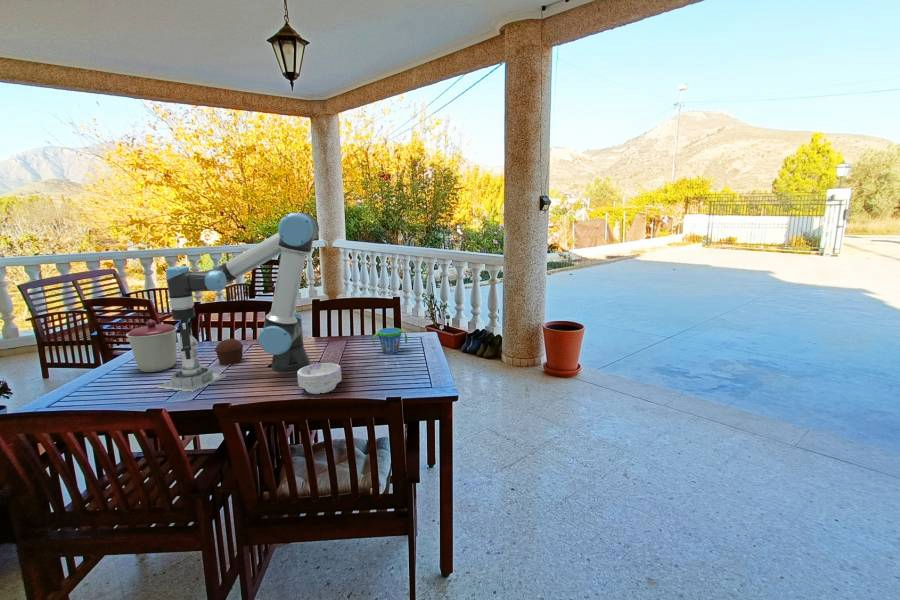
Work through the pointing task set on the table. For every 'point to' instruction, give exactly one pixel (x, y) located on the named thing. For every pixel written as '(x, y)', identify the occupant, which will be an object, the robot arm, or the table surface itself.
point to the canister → (154, 346)
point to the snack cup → (390, 339)
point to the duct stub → (192, 380)
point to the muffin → (229, 351)
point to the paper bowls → (319, 377)
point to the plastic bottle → (196, 369)
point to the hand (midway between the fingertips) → (190, 362)
